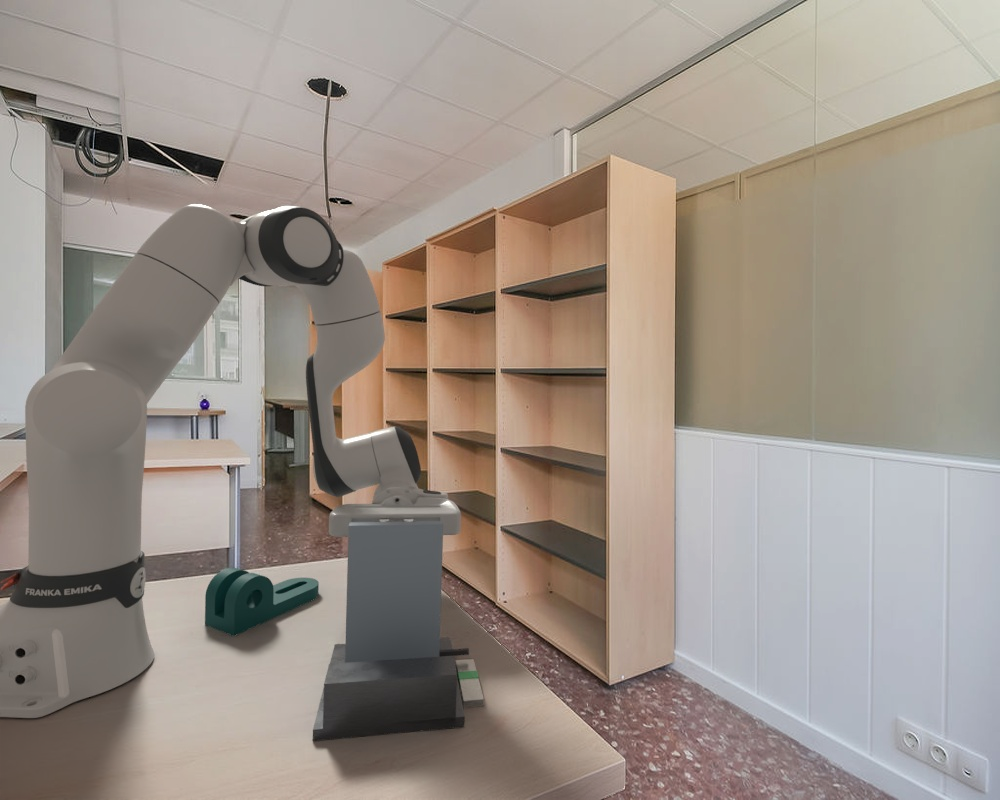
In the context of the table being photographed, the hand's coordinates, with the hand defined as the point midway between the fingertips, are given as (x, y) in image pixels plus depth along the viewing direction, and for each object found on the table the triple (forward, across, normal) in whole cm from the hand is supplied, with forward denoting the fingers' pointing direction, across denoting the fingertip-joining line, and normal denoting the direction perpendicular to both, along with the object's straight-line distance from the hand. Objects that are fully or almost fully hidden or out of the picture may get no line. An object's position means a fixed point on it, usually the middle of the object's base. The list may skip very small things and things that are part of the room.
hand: (396, 534), depth 75 cm
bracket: (-14, -20, +16) cm, 29 cm away
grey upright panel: (+8, +2, +14) cm, 16 cm away
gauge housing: (+11, +1, +16) cm, 19 cm away
